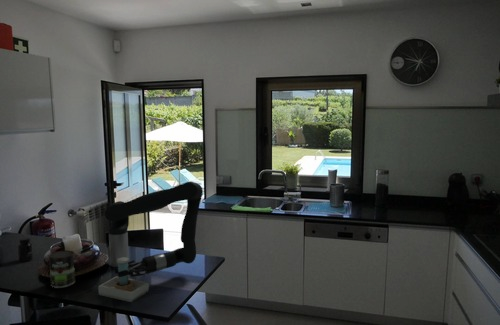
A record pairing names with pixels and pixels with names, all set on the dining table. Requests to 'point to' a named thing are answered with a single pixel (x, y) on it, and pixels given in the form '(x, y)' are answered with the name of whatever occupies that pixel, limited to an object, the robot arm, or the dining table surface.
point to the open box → (123, 289)
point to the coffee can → (62, 269)
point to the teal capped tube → (121, 267)
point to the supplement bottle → (25, 250)
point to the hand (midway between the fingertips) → (116, 273)
